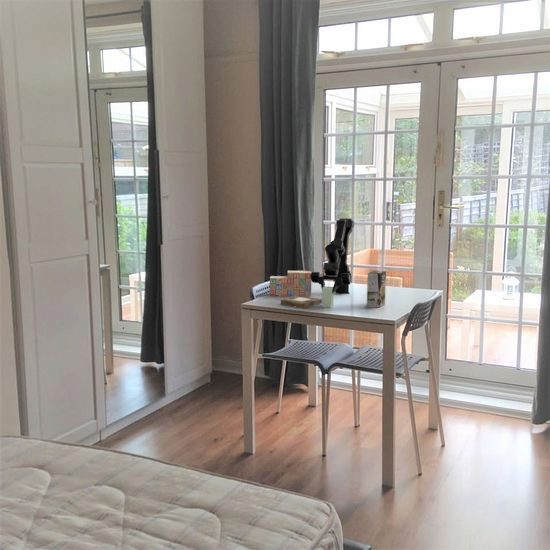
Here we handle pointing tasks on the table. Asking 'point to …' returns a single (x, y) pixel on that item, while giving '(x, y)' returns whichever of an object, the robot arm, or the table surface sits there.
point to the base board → (301, 301)
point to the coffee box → (376, 288)
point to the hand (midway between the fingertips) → (327, 292)
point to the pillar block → (327, 297)
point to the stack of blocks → (291, 284)
